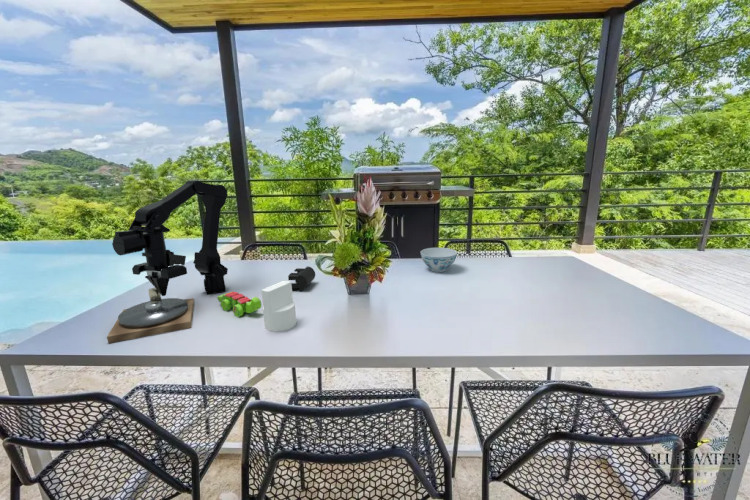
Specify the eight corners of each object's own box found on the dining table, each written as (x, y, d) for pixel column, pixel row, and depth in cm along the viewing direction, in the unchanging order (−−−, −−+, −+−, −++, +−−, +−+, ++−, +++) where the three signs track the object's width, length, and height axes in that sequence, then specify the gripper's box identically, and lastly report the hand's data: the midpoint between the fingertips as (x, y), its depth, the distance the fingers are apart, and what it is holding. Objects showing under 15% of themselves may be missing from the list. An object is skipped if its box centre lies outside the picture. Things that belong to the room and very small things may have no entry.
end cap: (307, 292, 127) (306, 274, 126) (289, 291, 128) (287, 274, 127) (316, 282, 137) (315, 266, 135) (298, 282, 138) (297, 266, 136)
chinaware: (460, 274, 141) (460, 256, 139) (422, 275, 141) (422, 257, 139) (452, 264, 155) (453, 247, 153) (418, 264, 156) (418, 248, 154)
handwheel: (124, 309, 111) (120, 293, 109) (188, 297, 119) (185, 282, 117) (114, 333, 95) (109, 315, 94) (188, 318, 103) (185, 301, 102)
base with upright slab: (280, 334, 97) (275, 293, 94) (258, 327, 101) (253, 288, 98) (302, 321, 104) (299, 283, 101) (281, 315, 109) (277, 278, 106)
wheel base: (194, 303, 120) (193, 297, 119) (191, 327, 102) (190, 320, 102) (124, 315, 112) (123, 308, 112) (108, 343, 95) (106, 336, 94)
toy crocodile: (214, 306, 117) (211, 289, 116) (233, 300, 122) (230, 283, 121) (246, 322, 105) (244, 303, 104) (266, 314, 110) (263, 296, 109)
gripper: (198, 244, 112) (205, 290, 116) (161, 241, 120) (169, 285, 124) (164, 251, 102) (174, 302, 106) (126, 248, 111) (136, 295, 114)
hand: (164, 295), depth 113 cm, fingers closed
